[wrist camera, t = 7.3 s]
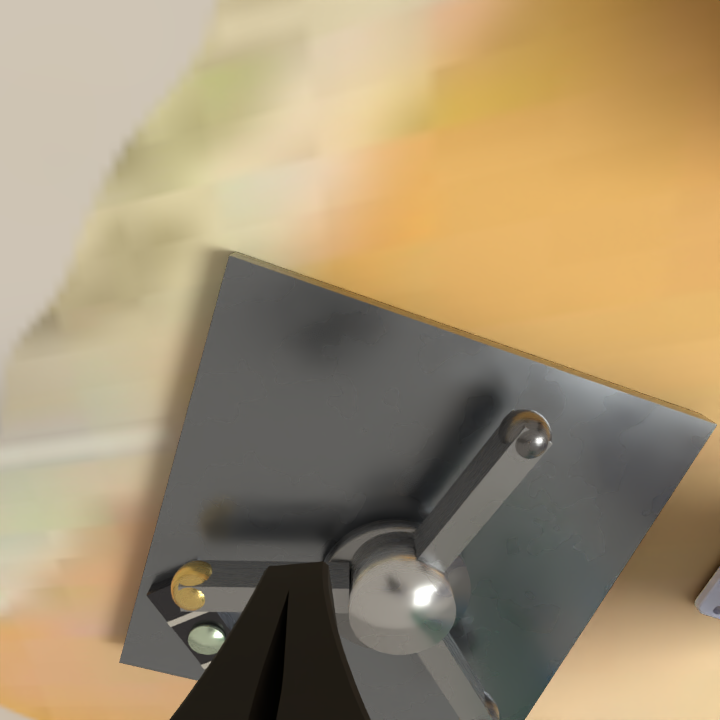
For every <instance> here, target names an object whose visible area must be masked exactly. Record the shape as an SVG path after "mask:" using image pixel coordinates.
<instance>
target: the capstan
mask: <svg viewBox="0 0 720 720" xmlns="http://www.w3.org/2000/svg"><path fill="white" fill-rule="evenodd" d="M551 441H552V430H551V427H550V425H549V423H548V421H547V420H546V419H545V418H544V417H543V416H542V415H541V414H539V413H538V412H536V411H533V410H529V409H519V410H515V411H514V410H513V409H512V411H511V412H510V413H509V414H508V415H507V416H506V417H505V418H504V419H503V420H502V422H501V424H500V426H499V427H498V428H497V429H496V431H495V432H494V433H493V434H492V436H491V437H490V438H489V439H488V441H487V442H486V443H485V444H484V446H483V447H482V448H481V449H480V451H479V452H478V453H477V454H476V456H475V457H474V458H473V459H472V461H471V462H470V463H469V465H468V466H467V467H466V468H465V470H464V471H463V472H462V473H461V475H460V476H459V477H458V478H457V480H456V481H455V482H454V483H453V485H452V486H451V487H450V488H449V490H448V491H447V492H446V493H445V495H444V496H443V497H442V498H441V500H440V501H439V502H438V503H437V505H436V506H435V507H434V508H433V510H432V511H431V512H430V514H429V515H428V516H427V517H426V519H425V520H424V521H423V522H418V521H414V520H408V519H386V520H379V521H375V522H371V523H368V524H365V525H363V526H360V527H358V528H356V529H354V530H352V531H350V532H349V533H348V534H346V535H345V536H343V537H342V538H341V539H340V540H339V541H338V542H336V544H335V545H334V546H333V547H332V548H331V550H330V551H329V553H328V554H327V556H326V558H325V560H324V562H325V563H326V564H328V565H329V571H330V578H331V585H332V592H333V599H334V607H335V614H336V621H337V629H338V632H339V634H340V635H341V636H343V637H344V638H346V639H347V640H349V641H351V642H353V643H355V644H357V645H360V646H362V647H366V648H369V649H374V650H376V651H379V652H382V653H386V654H393V655H406V654H413V653H417V654H418V656H419V657H420V659H421V660H422V662H423V663H424V665H425V666H426V668H427V669H428V671H429V672H430V674H431V675H432V677H433V678H434V680H435V682H436V683H437V685H438V686H439V688H440V689H441V691H442V692H443V694H444V695H445V697H446V698H447V700H448V701H449V703H450V704H451V706H452V707H453V709H454V710H455V712H456V713H457V715H458V717H459V720H499V710H498V706H497V704H496V702H495V700H494V699H493V697H492V696H491V695H490V694H489V693H488V692H486V691H485V689H484V688H483V686H482V684H481V683H480V681H479V679H478V678H477V676H476V675H475V673H474V671H473V670H472V668H471V666H470V665H469V663H468V662H467V660H466V658H465V657H464V655H463V653H462V652H461V650H460V649H459V647H458V645H457V644H456V642H455V640H454V639H453V637H452V636H451V634H450V632H449V631H450V630H451V629H452V628H453V627H454V626H455V625H456V624H457V623H458V622H459V620H460V619H461V618H462V616H463V614H464V613H465V611H466V608H467V606H468V603H469V599H470V594H471V584H470V578H469V574H468V571H467V567H466V564H465V561H464V558H463V556H462V554H461V552H462V551H463V549H464V548H465V547H466V546H467V545H468V544H469V542H470V541H471V540H472V539H473V538H474V536H475V535H476V534H477V533H478V532H479V531H480V529H481V528H482V527H483V526H484V525H485V523H486V522H487V521H488V520H489V519H490V517H491V516H492V515H493V514H494V513H495V512H496V510H497V509H498V508H499V507H500V506H501V504H502V503H503V502H504V501H505V500H506V499H507V497H508V496H509V495H510V494H511V493H512V491H513V490H514V489H515V488H516V487H517V486H518V484H519V483H520V482H521V481H522V480H523V478H524V477H525V476H526V475H527V474H528V472H529V471H530V470H531V469H532V468H533V467H534V465H535V464H536V463H537V462H538V461H539V459H540V458H541V457H542V456H543V455H544V454H545V452H546V451H547V450H548V449H549V448H550V446H551V445H552V444H553V443H552V442H551ZM300 563H310V562H289V561H225V560H189V562H188V563H186V564H185V565H183V566H182V567H181V568H180V569H179V570H178V571H177V572H176V573H175V575H174V577H173V580H172V583H171V595H172V598H173V600H174V602H175V603H176V604H177V605H178V606H179V607H180V611H185V612H242V611H243V610H244V608H245V606H246V604H247V603H248V601H249V599H250V597H251V596H252V594H253V592H254V590H255V588H256V586H257V584H258V583H259V581H260V579H261V577H262V575H263V573H264V571H265V570H266V569H267V568H268V567H269V566H278V565H289V564H300Z"/></svg>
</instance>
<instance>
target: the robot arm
mask: <svg viewBox="0 0 720 720" xmlns="http://www.w3.org/2000/svg"><path fill="white" fill-rule="evenodd" d="M695 607H696V608H697V609H698V610H699V612H700V613H702V614H704V615H707V616H711V617H714V618H718V619H720V567H719V568H718V569H717V571H716V572H715V573H714V575H713V576H712V578H711V579H710V580H709V582H708V583H707V584H706V586H705V587H704V589H703V590H702V591H701V593H700V594H699V595H698V597H697V598H696V600H695ZM170 720H371V719H370V717H369V714H368V712H367V710H366V708H365V705H364V703H363V701H362V698H361V696H360V693H359V691H358V688H357V686H356V683H355V680H354V678H353V675H352V672H351V669H350V667H349V664H348V661H347V658H346V655H345V652H344V649H343V646H342V643H341V639H340V636H339V632H338V629H337V621H336V614H335V607H334V599H333V592H332V585H331V578H330V571H329V565H328V564H326V563H325V562H323V561H321V562H310V563H300V564H289V565H278V566H269V567H268V568H267V569H266V570H265V571H264V573H263V575H262V577H261V579H260V581H259V583H258V584H257V586H256V588H255V590H254V592H253V594H252V596H251V597H250V599H249V601H248V603H247V604H246V606H245V608H244V610H243V611H242V613H241V615H240V617H239V618H238V620H237V622H236V623H235V625H234V626H233V628H232V630H231V631H230V633H229V635H228V636H227V638H226V639H225V641H224V643H223V644H222V646H221V648H220V649H219V651H218V652H217V654H216V655H215V657H214V658H213V660H212V661H211V663H210V664H209V666H208V667H207V668H206V670H205V671H204V673H203V674H202V676H201V677H200V679H199V680H198V682H197V683H196V684H195V686H194V687H193V689H192V690H191V692H190V693H189V694H188V696H187V697H186V699H185V700H184V701H183V703H182V704H181V705H180V707H179V708H178V709H177V711H176V712H175V713H174V715H173V716H172V717H171V718H170Z"/></svg>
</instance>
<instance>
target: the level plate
mask: <svg viewBox="0 0 720 720" xmlns="http://www.w3.org/2000/svg"><path fill="white" fill-rule="evenodd" d="M512 409H513V410H514V411H515V410H519V409H529V410H533V411H536V412H538V413H539V414H541V415H542V416H543V417H544V418H545V419H546V420H547V421H548V423H549V425H550V427H551V430H552V441H551V442H552V443H553V444H552V445H551V446H550V448H549V449H548V450H547V451H546V452H545V454H544V455H543V456H542V457H541V458H540V459H539V461H538V462H537V463H536V464H535V465H534V467H533V468H532V469H531V470H530V471H529V472H528V474H527V475H526V476H525V477H524V478H523V480H522V481H521V482H520V483H519V484H518V486H517V487H516V488H515V489H514V490H513V491H512V493H511V494H510V495H509V496H508V497H507V499H506V500H505V501H504V502H503V503H502V504H501V506H500V507H499V508H498V509H497V510H496V512H495V513H494V514H493V515H492V516H491V517H490V519H489V520H488V521H487V522H486V523H485V525H484V526H483V527H482V528H481V529H480V531H479V532H478V533H477V534H476V535H475V536H474V538H473V539H472V540H471V541H470V542H469V544H468V545H467V546H466V547H465V548H464V549H463V551H462V552H461V554H462V556H463V558H464V561H465V564H466V567H467V571H468V574H469V578H470V584H471V594H470V599H469V603H468V606H467V608H466V611H465V613H464V614H463V616H462V618H461V619H460V620H459V622H458V623H457V624H456V625H455V626H454V627H453V628H452V629H451V630H450V631H449V632H450V634H451V636H452V637H453V639H454V640H455V642H456V644H457V645H458V647H459V649H460V650H461V652H462V653H463V655H464V657H465V658H466V660H467V662H468V663H469V665H470V666H471V668H472V670H473V671H474V673H475V675H476V676H477V678H478V679H479V681H480V683H481V684H482V686H483V688H484V689H485V691H486V692H488V693H489V694H490V695H491V696H492V697H493V699H494V700H495V702H496V704H497V706H498V710H499V720H525V718H526V717H527V715H528V714H529V712H530V711H531V709H532V708H533V706H534V705H535V703H536V702H537V700H538V699H539V697H540V695H541V694H542V692H543V691H544V689H545V688H546V686H547V685H548V683H549V682H550V680H551V679H552V677H553V676H554V674H555V672H556V671H557V669H558V668H559V666H560V665H561V663H562V662H563V660H564V659H565V657H566V656H567V654H568V653H569V651H570V649H571V648H572V646H573V645H574V643H575V642H576V640H577V639H578V637H579V636H580V634H581V633H582V631H583V630H584V628H585V627H586V625H587V623H588V622H589V620H590V619H591V617H592V616H593V614H594V613H595V611H596V610H597V608H598V607H599V605H600V604H601V602H602V600H603V599H604V597H605V596H606V594H607V593H608V591H609V590H610V588H611V587H612V585H613V584H614V582H615V581H616V579H617V577H618V576H619V574H620V573H621V571H622V570H623V568H624V567H625V565H626V564H627V562H628V561H629V559H630V558H631V556H632V555H633V553H634V551H635V550H636V548H637V547H638V545H639V544H640V542H641V541H642V539H643V538H644V536H645V535H646V533H647V532H648V530H649V528H650V527H651V525H652V524H653V522H654V521H655V519H656V518H657V516H658V515H659V513H660V512H661V510H662V509H663V507H664V505H665V504H666V502H667V501H668V499H669V498H670V496H671V495H672V493H673V492H674V490H675V489H676V487H677V486H678V484H679V483H680V481H681V479H682V478H683V476H684V475H685V473H686V472H687V470H688V469H689V467H690V466H691V464H692V463H693V461H694V460H695V458H696V456H697V455H698V453H699V452H700V450H701V449H702V447H703V446H704V444H705V443H706V441H707V440H708V438H709V437H710V435H711V434H712V432H713V430H714V429H715V427H716V426H717V424H715V423H714V422H712V421H711V420H709V419H708V418H706V417H705V416H703V415H702V414H700V413H697V412H694V411H691V410H688V409H685V408H683V407H680V406H677V405H674V404H671V403H668V402H665V401H662V400H660V399H657V398H654V397H651V396H648V395H645V394H642V393H640V392H637V391H634V390H631V389H628V388H625V387H622V386H619V385H617V384H614V383H611V382H608V381H605V380H602V379H599V378H597V377H594V376H591V375H588V374H585V373H582V372H579V371H576V370H574V369H571V368H568V367H565V366H562V365H559V364H556V363H554V362H551V361H548V360H545V359H542V358H539V357H536V356H533V355H531V354H528V353H525V352H522V351H519V350H516V349H513V348H511V347H508V346H505V345H502V344H499V343H496V342H493V341H490V340H488V339H485V338H482V337H479V336H476V335H473V334H470V333H468V332H465V331H462V330H459V329H456V328H453V327H450V326H447V325H445V324H442V323H439V322H436V321H433V320H430V319H427V318H425V317H422V316H419V315H416V314H413V313H410V312H407V311H404V310H402V309H399V308H396V307H393V306H390V305H387V304H384V303H382V302H379V301H376V300H373V299H370V298H367V297H364V296H361V295H359V294H356V293H353V292H350V291H347V290H344V289H341V288H339V287H336V286H333V285H330V284H327V283H324V282H321V281H318V280H316V279H313V278H310V277H307V276H304V275H301V274H298V273H296V272H293V271H290V270H287V269H284V268H281V267H278V266H275V265H273V264H270V263H267V262H264V261H261V260H258V259H255V258H253V257H250V256H247V255H244V254H241V253H238V252H234V253H232V254H231V255H229V259H228V262H227V266H226V270H225V273H224V277H223V281H222V284H221V288H220V292H219V296H218V299H217V303H216V307H215V310H214V314H213V318H212V321H211V325H210V329H209V333H208V336H207V340H206V344H205V347H204V351H203V355H202V358H201V362H200V366H199V369H198V373H197V377H196V381H195V384H194V388H193V392H192V395H191V399H190V403H189V406H188V410H187V414H186V418H185V421H184V425H183V429H182V432H181V436H180V440H179V443H178V447H177V451H176V455H175V458H174V462H173V466H172V469H171V473H170V477H169V480H168V484H167V488H166V492H165V495H164V499H163V503H162V506H161V510H160V514H159V517H158V521H157V525H156V529H155V532H154V536H153V540H152V543H151V547H150V551H149V554H148V558H147V562H146V565H145V569H144V573H143V577H142V580H141V584H140V588H139V591H138V595H137V599H136V602H135V606H134V610H133V614H132V617H131V621H130V625H129V628H128V632H127V636H126V639H125V643H124V647H123V651H122V654H121V658H120V662H119V663H123V664H128V665H132V666H137V667H141V668H145V669H150V670H154V671H158V672H163V673H167V674H171V675H176V676H180V677H185V678H189V679H193V680H199V679H200V677H201V676H202V674H203V673H204V671H205V670H206V668H207V667H208V666H209V664H210V663H211V661H212V660H213V658H214V657H215V655H216V654H217V652H218V651H219V649H220V648H221V646H222V644H223V643H224V641H225V639H226V638H227V636H228V635H229V633H230V631H231V630H232V628H233V626H234V625H235V623H236V622H237V620H238V618H239V617H240V615H241V613H242V612H185V611H180V607H179V606H178V605H177V604H176V603H175V602H174V600H173V598H172V595H171V583H172V580H173V577H174V575H175V573H176V572H177V571H178V570H179V569H180V568H181V567H182V566H183V565H185V564H186V563H188V562H189V560H225V561H289V562H321V561H323V562H324V560H325V558H326V556H327V554H328V553H329V551H330V550H331V548H332V547H333V546H334V545H335V544H336V542H338V541H339V540H340V539H341V538H342V537H343V536H345V535H346V534H348V533H349V532H350V531H352V530H354V529H356V528H358V527H360V526H363V525H365V524H368V523H371V522H375V521H379V520H386V519H408V520H414V521H418V522H423V521H424V520H425V519H426V517H427V516H428V515H429V514H430V512H431V511H432V510H433V508H434V507H435V506H436V505H437V503H438V502H439V501H440V500H441V498H442V497H443V496H444V495H445V493H446V492H447V491H448V490H449V488H450V487H451V486H452V485H453V483H454V482H455V481H456V480H457V478H458V477H459V476H460V475H461V473H462V472H463V471H464V470H465V468H466V467H467V466H468V465H469V463H470V462H471V461H472V459H473V458H474V457H475V456H476V454H477V453H478V452H479V451H480V449H481V448H482V447H483V446H484V444H485V443H486V442H487V441H488V439H489V438H490V437H491V436H492V434H493V433H494V432H495V431H496V429H497V428H498V427H499V426H500V424H501V422H502V420H503V419H504V418H505V417H506V416H507V415H508V414H509V413H510V412H511V411H512ZM339 636H340V639H341V643H342V646H343V649H344V652H345V655H346V658H347V661H348V664H349V667H350V669H351V672H352V675H353V678H354V680H355V683H356V686H357V688H358V691H359V693H360V696H361V698H362V701H363V703H364V705H365V708H366V710H367V712H368V714H369V717H370V719H371V720H459V717H458V715H457V713H456V712H455V710H454V709H453V707H452V706H451V704H450V703H449V701H448V700H447V698H446V697H445V695H444V694H443V692H442V691H441V689H440V688H439V686H438V685H437V683H436V682H435V680H434V678H433V677H432V675H431V674H430V672H429V671H428V669H427V668H426V666H425V665H424V663H423V662H422V660H421V659H420V657H419V656H418V654H417V653H413V654H406V655H393V654H386V653H382V652H379V651H376V650H374V649H369V648H366V647H362V646H360V645H357V644H355V643H353V642H351V641H349V640H347V639H346V638H344V637H343V636H341V635H340V634H339Z"/></svg>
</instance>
